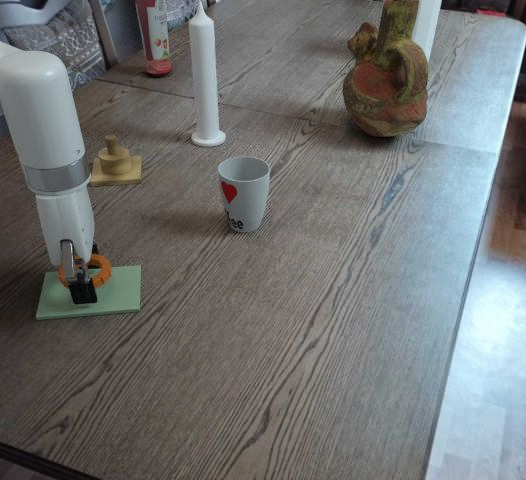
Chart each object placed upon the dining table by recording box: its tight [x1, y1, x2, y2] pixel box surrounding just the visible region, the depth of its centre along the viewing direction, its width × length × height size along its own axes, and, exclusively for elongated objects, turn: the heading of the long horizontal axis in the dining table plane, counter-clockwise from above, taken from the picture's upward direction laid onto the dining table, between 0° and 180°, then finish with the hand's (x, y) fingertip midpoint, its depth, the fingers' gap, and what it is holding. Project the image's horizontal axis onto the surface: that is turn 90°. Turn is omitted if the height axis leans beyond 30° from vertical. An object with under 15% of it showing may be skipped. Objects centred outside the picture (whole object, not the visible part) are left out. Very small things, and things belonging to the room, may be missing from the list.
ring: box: [58, 253, 112, 289], centre depth 77 cm, size 7×7×1 cm
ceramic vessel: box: [342, 0, 429, 138], centre depth 109 cm, size 17×26×25 cm, turn 27°
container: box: [379, 0, 443, 64], centre depth 142 cm, size 14×14×18 cm
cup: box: [217, 155, 271, 233], centre depth 88 cm, size 8×8×10 cm
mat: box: [35, 264, 142, 321], centre depth 79 cm, size 14×10×1 cm
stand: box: [89, 134, 143, 187], centre depth 101 cm, size 9×9×7 cm
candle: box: [188, 0, 227, 148], centre depth 105 cm, size 7×7×25 cm
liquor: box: [134, 0, 173, 78], centre depth 129 cm, size 7×7×28 cm
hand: (88, 283), depth 78 cm, fingers closed on ring, 7 cm apart
